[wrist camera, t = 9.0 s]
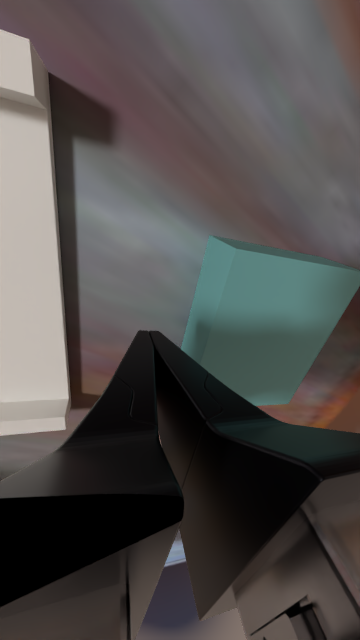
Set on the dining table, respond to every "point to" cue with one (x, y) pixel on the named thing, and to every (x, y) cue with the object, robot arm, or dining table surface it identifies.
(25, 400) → the tray
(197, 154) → the dining table surface
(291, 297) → the teal rectangular block
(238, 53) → the dining table surface
